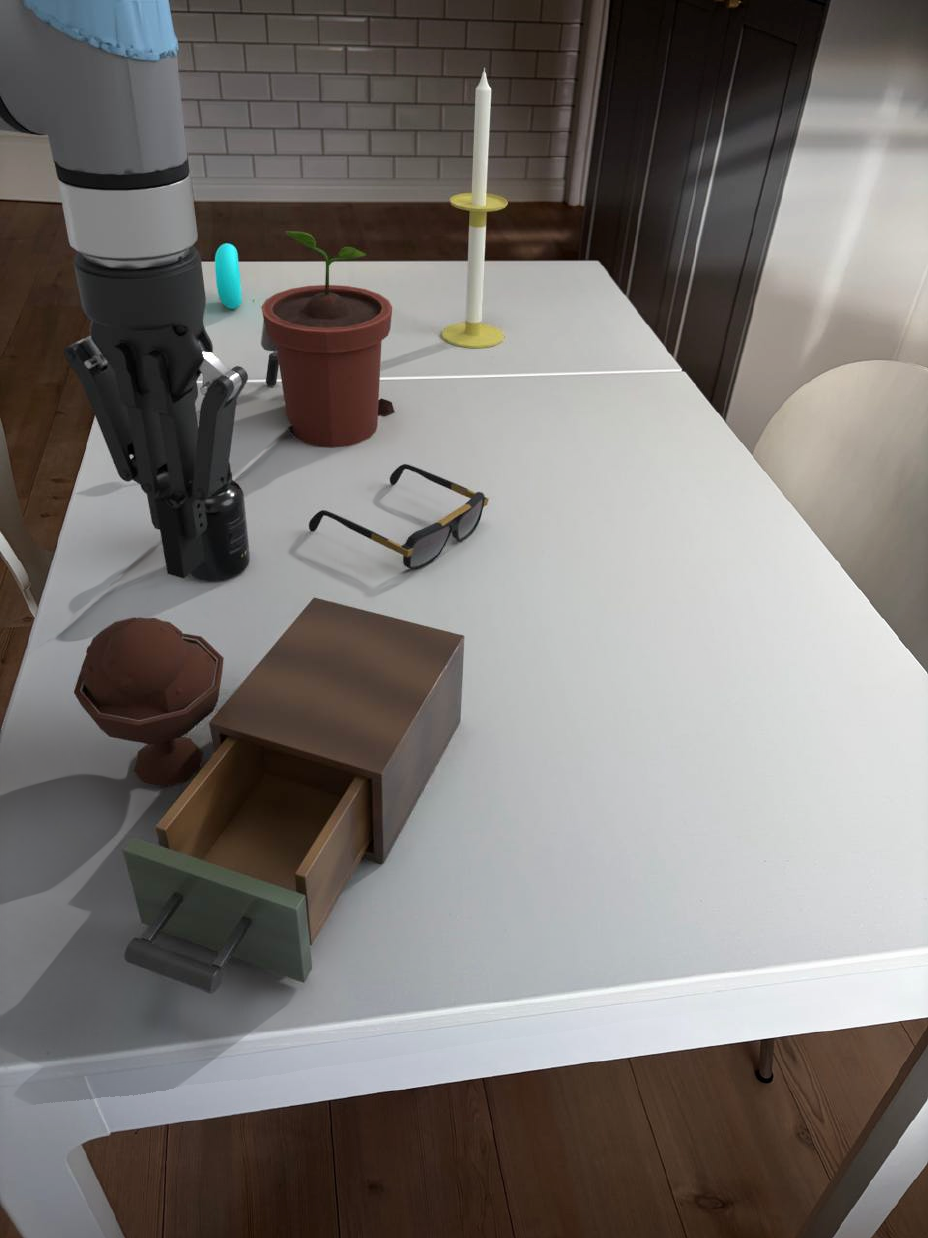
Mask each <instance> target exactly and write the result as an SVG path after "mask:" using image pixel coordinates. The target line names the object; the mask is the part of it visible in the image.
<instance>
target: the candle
mask: <svg viewBox="0 0 928 1238" xmlns="http://www.w3.org/2000/svg"><path fill="white" fill-rule="evenodd" d="M487 78H488V77H487V72H486V67H484V68H483V72H482V74H481V78H480V81H479V83H478V85H477V86H476V88H475V99H474V102H475V103H474V123H473V125H474V126H473V127H474V128H473V149H472V150H473V151H472V152H473V154H472V175H471V177H472V178H471V192H465V193H459V194H455V195H452V196H451V197H450V198H449V203H450V205H451V206H452V207H454V208H456V209H460V210H464V211H469V218H468V219H469V223H468V246H467V247H468V248H467V269H466V270H467V273H466V296H465V298H466V299H465V321H464V322H457V323H453V324H450V325H447V326H446V327H444V328H443V330H442V331H441V332H440V333H441V338H442V340H443V341H445V342H446V343H448V344H450V345H452V346H456V347H459V348H467V349H486V348H490V347H491V348H492V347H496V346H497V345H499V344H501V343H502V342H503V341H504V339H505V334H504V332H503V330H502V329H500V328H498V327H496V326H494V325H492V324H488V323H483V322H482V319H483V318H482V317H483V298H484V297H483V296H484V276H485V257H486V256H485V255H486V235H487V217H488V216H487V215H488V212H489V213H490V212H497V211H500V210H503V209H506V207H507V206H508V204H509V202H508V200H507V199H506V198H504V197H503V196H500V195H497V194H492V193H487V191H488V189H487V187H488V170H489V169H488V168H489V167H488V166H489V149H490V148H489V147H490V127H491V126H490V125H491V106H492V105H491V104H492V88H491V87H490V85H489V82H488V79H487Z"/></svg>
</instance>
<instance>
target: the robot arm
mask: <svg viewBox="0 0 928 1238" xmlns="http://www.w3.org/2000/svg"><path fill="white" fill-rule="evenodd" d="M178 52H179V42H178V37H177V34H175V30H174V25H173V18H172V12H171V7H170V1H169V0H0V131H4V132H5V131H6V132H13V133H20V134H21V133H22V134H28V135H35V136H47V137H48V142H49V147H50V152H51V156H52V161H53V164H54V167H55V168H54V169H55V172H56V177H57V183H58V189H59V193H60V194H59V195H60V200H61V204H62V205H61V206H62V210H63V216H64V221H65V222H64V223H65V228H66V233H67V238H68V242H69V245H70V247H71V248H72V249H74V250H75V251H77V253H76V255H75V257H74V258H73V266H74V271H75V277H76V282H77V287H78V292H79V296H80V302H81V307H82V311H83V312H84V314H85V316H86V317H87V318H88V319H89V320H90V323H89V329H88V330H89V331H88V332H89V335H88V336H86V337H83V338H82V339H80V340H78V341H76V342H74V343H72V344H70V345H68V346H66V347H65V348H64V349H63V356H64V358H65V360H66V361H67V363H68V364H69V366H70V368H71V369H72V370H73V371H74V373H75V374H76V376H77V377H78V379H79V380H80V382H81V384H82V387H83V389H84V392H85V394H86V396H87V399H88V402H89V404H90V407H91V409H92V412H93V414H94V417H95V419H96V421H97V424H98V426H99V429H100V431H101V435H102V437H103V439H104V442H105V443H106V446H107V449H108V452H109V454H110V457H111V459H112V461H113V462H112V463H113V464H114V467H115V469H116V472H117V475H118V476H119V478H120V479H121V480H123V482H127V483H128V482H131V481H134V482H135V483H137V484H138V485H140V488H141V490H142V491H143V492H144V494H146V497H147V503H148V508H149V509H148V510H149V514H150V520H151V523H152V525H153V527H154V529H156V530H159V532H160V539H161V544H162V550H163V551H162V552H163V556H164V561H165V568H166V574H167V575H170V576H174V577H176V578H179V579H180V578H181V579H186V578H187V577H188V576H189V575H191V574H190V573H191V572H192V571H194V570H195V569H196V568H197V567H198V566H199V565H200V564H201V563H202V562H204V561H205V557H204V550H203V543H202V536H201V533H203V532H204V531H205V530H206V527H207V518H206V514H205V513H206V511H205V504H204V501H205V500H206V499H207V498H209V497H210V496H211V495H212V494H214V493H215V492H216V491H217V490H218V489H220V488H221V487H222V486H223V485H224V484H226V481H227V473H228V465H229V462H230V456H231V448H232V442H233V441H232V440H233V432H234V424H235V417H236V408H237V402H238V397H239V396H240V394H241V392H242V391H243V389H244V387H245V385H246V384H247V383H248V379H249V376H248V375H249V374H248V372H247V371H246V369H245V368H244V367H242V366H239V365H237V366H234V367H232V368H230V367H229V366H228V365H226V364H225V363H224V362H223V361H222V360H221V359H220V358H218V357H217V356H216V355H215V354H214V346H213V342H212V339H211V337H210V336H209V334H208V332H207V330H206V328H205V324H204V317H205V316H204V315H205V309H206V304H207V298H206V290H205V280H204V273H203V264H202V256H201V252H199V251H198V250H197V249H196V247H195V246H194V244H196V242H197V241H198V238H199V237H198V236H199V234H198V227H197V226H198V225H197V219H196V210H195V201H194V194H193V185H192V184H193V183H192V177H191V171H190V164H189V163H190V162H189V159H188V157H189V155H188V153H187V144H186V133H185V122H184V114H183V105H182V96H181V95H182V94H181V85H180V75H179V74H180V73H179V65H178V64H179V63H178ZM200 375H202V383H201V386H200V388H199V387H198V381H197V380H198V379H199V378H200ZM198 389H199V390H200V393H201V394H202V395H204V396H203V399H202V401H201V404H200V410H199V419H198V415H197V408H196V402H197V399H198V397H199V390H198ZM131 456H132V457H131Z"/></svg>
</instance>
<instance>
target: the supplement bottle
mask: <svg viewBox="0 0 928 1238" xmlns="http://www.w3.org/2000/svg"><path fill="white" fill-rule="evenodd" d="M204 504H205V511H206V513H205V514H206V518H207V527H206V530H205V531H204V532H203V533H201V536H202V543H203V550H204V557H205V561H204V562H202V563H201V564H200V565H199V566H198V567H197V568H196V569H195V570H194V571H192V572H191V573H190V574H189V575H191V576H192V577H194V578H195V579H198V580H201V581H206V582H222V581H228V580H230V579H233V578H236V577H237V576H239V575H241V574H242V573H244V571H245V570H246V569H247V568H248V566H249V565H250V561H251V554H250V543H249V533H248V523H247V513H246V505H245V495H244V491H243V489H242V487H241V486H240V484H238V483H237V482H236V481H235V480H233V472H232V470H231V463H230V461H229V465H228V473H227V481H226V484H224V485H223V486H222V487H221V488H220V489H218V490H217V491H216V492H215V493H214V494H212V495H211V496H210V497H209V498H207V499H206V500H205V501H204Z"/></svg>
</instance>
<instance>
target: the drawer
mask: <svg viewBox="0 0 928 1238" xmlns="http://www.w3.org/2000/svg"><path fill="white" fill-rule="evenodd" d="M154 828H155V832H156V836H157V841H158V844H156V843H153V842H150V841H147V840H145V839H141V838H138V837H135V836H132V837H131V839H130V840H129V841H128V842H127V844H126V845H125V846H124V847H123V849H122V854H123V857H124V861H125V865H126V868H127V872H128V876H129V880H130V884H131V888H132V892H133V896H134V898H135V903H136V906H137V911H138V913H139V917H140V918H139V919H140V921H141V924H143V925H144V926H147V927H148V928H146V930H145V931H144V933H143V934H142V936H141V938H140V937H134V938H132V939H131V940H130V941H129V943H128V944H127V946H126V948H125V951H124V955H123V956H124V961H125V962H126V963H128V964H131V965H134V966H137V967H139V968H142V969H144V970H147V971H150V972H152V973H155V974H157V975H161V976H163V977H166V978H167V979H171V980H174V981H176V982H178V983H181V984H184V985H187V986H189V987H192V988H194V989H197V990H200V991H203V992H205V993H208V994H211V995H212V994H214V993H216V992H217V990H219V988H220V986H221V983H222V981H223V978H224V971H223V970H224V968H225V967H226V966H227V964H228V962H229V961H230V960H231V958H235V959H237V960H240V961H243V962H245V963H248V964H251V965H254V966H256V967H259V968H261V969H264V970H267V971H270V972H273V973H275V974H278V975H281V976H284V977H286V978H289V979H292V980H294V981H298V982H300V983H303V984H305V982H306V981H307V979H308V977H309V975H310V973H311V972H312V970H313V961H312V953H311V952H312V951H311V946H313V945H314V943H315V941H316V939H317V938H318V936H319V935H320V933H321V931H322V929H323V927H324V926H325V924H326V922H327V920H328V919H329V917H330V915H331V913H332V911H333V910H334V907H335V906H336V904H337V902H338V900H339V899H340V897H341V896H342V894H343V892H344V890H345V889H346V886H347V884H348V883H349V881H350V879H351V878H352V876H353V874H354V872H355V871H356V869H357V867H358V866H359V863H360V862H361V860H362V858H363V855H364V853H365V851H366V849H367V848H368V846H369V844H370V842H371V841H372V839H373V805H372V779H370V778H367V777H364V776H360V775H357V774H354V773H350V772H347V771H344V770H340V769H337V768H334V767H330V766H327V765H324V764H321V763H317V762H314V761H311V760H307V759H304V758H301V757H297V756H294V755H291V754H287V753H284V752H281V751H278V750H274V749H271V748H268V747H264V746H261V745H258V744H254V743H251V742H248V741H244V740H241V739H238V738H235V737H231V736H228V737H227V738H226V739H225V741H224V742H223V743H222V744H221V746H220V747H219V748H218V749H217V751H216V752H215V753H214V752H213V754H212V756H211V757H210V758H209V759H208V761H207V762H206V763H205V764H204V765H203V766H202V768H200V770H199V772H198V773H197V774H196V775H195V777H194V778H193V779H192V781H190V783H189V784H188V785H187V787H186V788H185V789H184V791H183V792H182V793H181V794H180V795H179V796H178V798H177V799H176V800H175V802H174V803H173V804H172V805H171V806H170V808H169V809H168V810H167V811H166V813H165V814H164V815H163V817H162V818H161V819H160V820H159V821H158V823H157V824H156V825H155V827H154ZM161 932H163V933H166V934H168V935H172V936H175V937H177V938H180V939H183V940H185V941H188V942H190V943H193V944H196V945H198V946H202V947H204V948H207V949H209V950H211V951H216V952H217V953H218V954H217V955H216V957H215V959H214V960H213V961H212V963H211V964H210V963H207V962H205V961H202V960H199V959H197V958H194V957H192V956H188V955H186V954H183V953H181V952H178V951H175V950H172V949H170V948H167V947H164V946H163V945H159V944H156V943H154V942H155V940H156V939H157V937H158V936H159V935H160V934H161Z"/></svg>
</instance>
